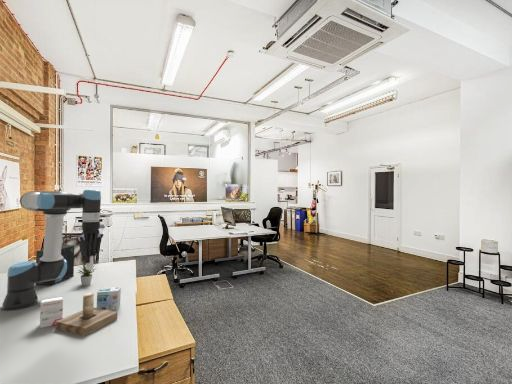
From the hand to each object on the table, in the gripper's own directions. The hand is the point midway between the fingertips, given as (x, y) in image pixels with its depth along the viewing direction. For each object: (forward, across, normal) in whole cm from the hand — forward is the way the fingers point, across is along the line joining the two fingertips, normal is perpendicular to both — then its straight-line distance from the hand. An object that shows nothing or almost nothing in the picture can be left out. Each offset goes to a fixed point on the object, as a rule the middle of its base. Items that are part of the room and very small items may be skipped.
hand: (89, 269), depth 132 cm
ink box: (+27, -6, +16) cm, 32 cm away
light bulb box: (+27, +17, +5) cm, 32 cm away
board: (+26, 0, 0) cm, 26 cm away
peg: (+26, 0, 0) cm, 26 cm away
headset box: (+27, +41, +80) cm, 94 cm away
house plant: (+27, +44, +52) cm, 73 cm away
